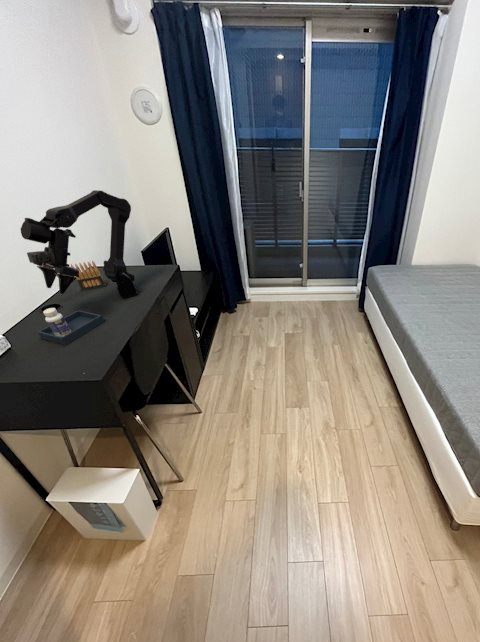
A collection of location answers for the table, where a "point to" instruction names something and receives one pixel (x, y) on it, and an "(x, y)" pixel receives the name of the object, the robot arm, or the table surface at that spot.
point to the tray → (74, 327)
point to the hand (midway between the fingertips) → (55, 290)
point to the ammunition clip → (89, 277)
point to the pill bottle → (56, 322)
